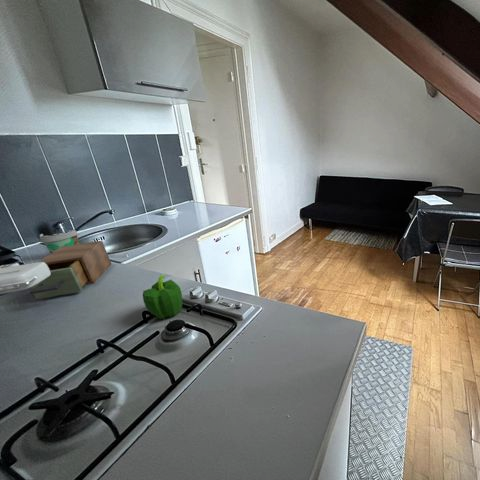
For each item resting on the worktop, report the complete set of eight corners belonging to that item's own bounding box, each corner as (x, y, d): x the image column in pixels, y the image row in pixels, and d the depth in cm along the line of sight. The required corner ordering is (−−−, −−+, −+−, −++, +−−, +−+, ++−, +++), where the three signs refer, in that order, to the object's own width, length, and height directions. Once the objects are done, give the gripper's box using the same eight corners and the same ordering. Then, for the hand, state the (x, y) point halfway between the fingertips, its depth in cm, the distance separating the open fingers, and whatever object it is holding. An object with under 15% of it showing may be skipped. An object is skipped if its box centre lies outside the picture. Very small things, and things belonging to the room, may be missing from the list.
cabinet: (93, 283, 85) (81, 256, 81) (48, 291, 82) (33, 264, 78) (111, 264, 98) (102, 240, 94) (73, 270, 95) (61, 246, 91)
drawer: (73, 299, 75) (61, 275, 72) (26, 308, 72) (12, 283, 69) (100, 271, 91) (91, 250, 88) (62, 277, 88) (52, 256, 85)
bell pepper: (171, 325, 63) (159, 290, 59) (143, 322, 65) (130, 288, 61) (193, 304, 71) (184, 272, 67) (168, 301, 73) (157, 270, 69)
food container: (41, 262, 103) (29, 239, 99) (51, 256, 108) (40, 233, 104) (78, 257, 106) (67, 234, 102) (86, 251, 111) (76, 229, 107)
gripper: (18, 272, 53) (58, 247, 65) (-122, 295, 48) (-50, 263, 60) (33, 298, 56) (68, 269, 68) (-99, 322, 50) (-34, 286, 62)
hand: (12, 266), depth 64 cm, fingers closed
